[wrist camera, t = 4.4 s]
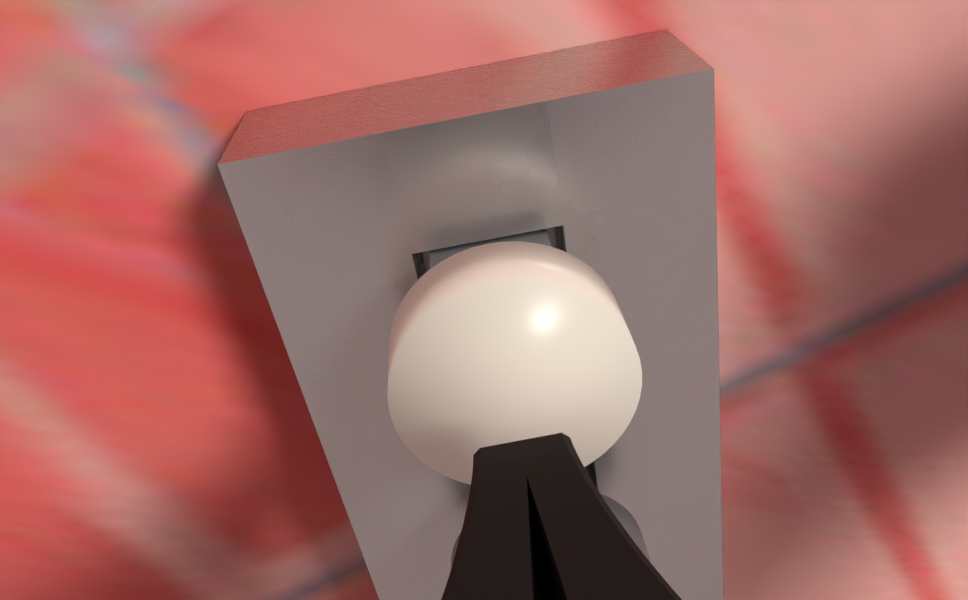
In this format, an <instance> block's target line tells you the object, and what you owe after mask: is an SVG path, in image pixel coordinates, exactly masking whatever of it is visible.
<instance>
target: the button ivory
mask: <svg viewBox="0 0 968 600" xmlns="http://www.w3.org/2000/svg"><path fill="white" fill-rule="evenodd" d="M429 256H430V270H428V271H427V272H426V273H425V274H424V275H423V276H422V277H421V278H419V279H418V280H417V281H416V283H415V284H414V285H413V286H412V287H411V288H410V290H409V291H408V292H407V294H406V295H405V297H404V298H403V300H402V302H401V303H400V305H399V307H398V310H397V312H396V314H395V316H394V320H393V324H392V327H391V333H390V342H389V366H388V391H387V392H388V407H389V412H390V416H391V420H392V422H393V425H394V427H395V430H396V432H397V433H398V435H399V437H400V439H401V440H402V442H403V443H404V444H405V446H406V447H407V448H408V449H409V450H410V452H411V453H412V454H413V455H415V456H416V457H417V458H418V459H419V460H420V461H421V462H422V463H424V464H425V465H427V466H428V467H430V468H431V469H432V470H434V471H436V472H438V473H440V474H442V475H444V476H446V477H448V478H451V479H453V480H456V481H459V482H462V483H466V484H470V485H471V480H472V472H473V455H474V454H475V453H476V452H477V451H478V449H479V448H482V447H487V446H493V445H498V444H503V443H509V442H514V441H520V440H525V439H530V438H536V437H541V436H546V435H552V434H557V433H563V434H565V435H567V436H568V437H570V438H571V441H572V444H573V446H574V448H575V450H576V452H577V454H578V457H579V459H580V460H581V462H582V464H583V466H584V467H585V466H587V465H589V464H590V463H592V462H593V461H595V460H596V459H597V458H599V457H600V456H601V455H603V454H604V453H605V452H606V451H607V450H608V449H609V448H610V447H611V446H613V444H614V443H615V442H616V441H617V440H618V439H619V438H620V436H621V435H622V434H623V432H624V431H625V429H626V428H627V426H628V425H629V423H630V422H631V420H632V418H633V415H634V413H635V411H636V409H637V406H638V402H639V399H640V394H641V388H642V368H641V362H640V357H639V355H638V352H637V349H636V346H635V344H634V341H633V339H632V336H631V334H630V332H629V329H628V327H627V325H626V322H625V320H624V318H623V315H622V313H621V310H620V308H619V306H618V303H617V301H616V299H615V297H614V295H613V293H612V291H611V290H610V288H609V286H608V285H607V284H606V282H605V281H604V280H603V279H602V277H601V276H600V275H599V274H598V273H597V272H596V271H595V270H594V269H592V268H591V267H590V266H589V265H587V264H586V263H585V262H583V261H582V260H580V259H579V258H577V257H575V256H573V255H571V254H569V253H567V252H565V251H562V250H560V249H557V248H554V247H552V246H551V243H550V240H549V237H548V234H547V231H546V229H541V230H536V231H531V232H525V233H520V234H515V235H509V236H504V237H499V238H494V239H488V240H483V241H478V242H473V243H467V244H462V245H457V246H451V247H446V248H441V249H436V250H430V251H429Z"/></svg>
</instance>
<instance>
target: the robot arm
mask: <svg viewBox="0 0 968 600" xmlns="http://www.w3.org/2000/svg"><path fill="white" fill-rule="evenodd" d="M441 600H682V599H681V598H680V597H679V596H678V595H677V593H676V592H675V591H674V590H673V589H672V588H671V587H670V585H669V584H668V583H667V582H666V581H665V579H664V578H663V577H662V576H661V575H660V573H659V572H658V571H657V570H656V569H655V567H654V566H653V565H652V564H651V563H650V561H649V560H648V559H647V558H646V556H645V555H644V554H643V553H642V551H641V550H640V549H639V547H638V546H637V545H636V544H635V542H634V541H633V539H632V538H631V537H630V535H629V534H628V533H627V531H626V530H625V529H624V527H623V526H622V524H621V523H620V522H619V520H618V519H617V518H616V516H615V515H614V514H613V512H612V511H611V509H610V508H609V506H608V505H607V503H606V502H605V500H604V499H603V497H602V496H601V494H600V493H599V491H598V489H597V488H596V486H595V485H594V483H593V481H592V480H591V478H590V476H589V475H588V473H587V471H586V470H585V468H584V466H583V464H582V462H581V460H580V459H579V457H578V454H577V452H576V450H575V448H574V446H573V444H572V441H571V438H570V437H568V436H567V435H565V434H563V433H557V434H552V435H546V436H541V437H536V438H530V439H525V440H520V441H514V442H509V443H503V444H498V445H493V446H487V447H482V448H479V449H478V451H477V452H476V453H475V454H474V455H473V472H472V480H471V487H470V493H469V499H468V504H467V508H466V513H465V518H464V523H463V527H462V531H461V534H460V538H459V542H458V546H457V549H456V553H455V557H454V561H453V564H452V568H451V571H450V575H449V578H448V581H447V584H446V587H445V590H444V593H443V596H442V599H441Z"/></svg>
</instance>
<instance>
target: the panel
mask: <svg viewBox="0 0 968 600" xmlns="http://www.w3.org/2000/svg"><path fill="white" fill-rule="evenodd" d="M217 165H218V168H219V170H220V173H221V176H222V178H223V181H224V184H225V187H226V189H227V192H228V195H229V197H230V200H231V203H232V205H233V208H234V211H235V213H236V216H237V219H238V221H239V224H240V227H241V230H242V232H243V235H244V238H245V240H246V243H247V246H248V248H249V251H250V254H251V256H252V259H253V262H254V264H255V267H256V270H257V273H258V275H259V278H260V281H261V283H262V286H263V289H264V291H265V294H266V297H267V299H268V302H269V305H270V307H271V310H272V313H273V316H274V318H275V321H276V324H277V326H278V329H279V332H280V334H281V337H282V340H283V342H284V345H285V348H286V350H287V353H288V356H289V358H290V361H291V364H292V367H293V369H294V372H295V375H296V377H297V380H298V383H299V385H300V388H301V391H302V393H303V396H304V399H305V401H306V404H307V407H308V410H309V412H310V415H311V418H312V420H313V423H314V426H315V428H316V431H317V434H318V436H319V439H320V442H321V444H322V447H323V450H324V453H325V455H326V458H327V461H328V463H329V466H330V469H331V471H332V474H333V477H334V479H335V482H336V485H337V487H338V490H339V493H340V496H341V498H342V501H343V504H344V506H345V509H346V512H347V514H348V517H349V520H350V522H351V525H352V528H353V530H354V533H355V536H356V539H357V541H358V544H359V547H360V549H361V552H362V555H363V557H364V560H365V563H366V565H367V568H368V571H369V573H370V576H371V579H372V581H373V584H374V587H375V590H376V592H377V595H378V598H379V600H441V599H442V596H443V593H444V590H445V587H446V584H447V581H448V578H449V575H450V571H451V556H452V551H453V547H454V545H455V542H456V540H457V538H458V536H459V534H460V533H461V531H462V527H463V523H464V518H465V513H466V508H467V504H468V499H469V493H470V487H471V485H470V484H466V483H462V482H459V481H456V480H453V479H451V478H448V477H446V476H444V475H442V474H440V473H438V472H436V471H434V470H432V469H431V468H430V467H428V466H427V465H425V464H424V463H422V462H421V461H420V460H419V459H418V458H417V457H416V456H415V455H413V454H412V453H411V452H410V450H409V449H408V448H407V447H406V446H405V444H404V443H403V442H402V440H401V439H400V437H399V435H398V433H397V432H396V430H395V427H394V425H393V422H392V420H391V416H390V412H389V407H388V392H387V391H388V366H389V342H390V333H391V327H392V324H393V320H394V316H395V314H396V312H397V310H398V307H399V305H400V303H401V302H402V300H403V298H404V297H405V295H406V294H407V292H408V291H409V290H410V288H411V287H412V286H413V285H414V284H415V283H416V281H417V280H418V279H419V278H421V277H422V276H423V275H424V274H425V273H426V272H427V271H428V270H430V256H429V251H430V250H436V249H441V248H446V247H451V246H457V245H462V244H467V243H473V242H478V241H483V240H488V239H494V238H499V237H504V236H509V235H515V234H520V233H525V232H531V231H536V230H541V229H546V231H547V234H548V237H549V240H550V243H551V246H552V247H554V248H557V249H560V250H562V251H565V252H567V253H569V254H571V255H573V256H575V257H577V258H579V259H580V260H582V261H583V262H585V263H586V264H587V265H589V266H590V267H591V268H592V269H594V270H595V271H596V272H597V273H598V274H599V275H600V276H601V277H602V279H603V280H604V281H605V282H606V284H607V285H608V286H609V288H610V290H611V291H612V293H613V295H614V297H615V299H616V301H617V303H618V306H619V308H620V310H621V313H622V315H623V318H624V320H625V322H626V325H627V327H628V329H629V332H630V334H631V336H632V339H633V341H634V344H635V346H636V349H637V352H638V355H639V357H640V362H641V368H642V388H641V394H640V399H639V402H638V406H637V409H636V411H635V413H634V415H633V418H632V420H631V422H630V423H629V425H628V426H627V428H626V429H625V431H624V432H623V434H622V435H621V436H620V438H619V439H618V440H617V441H616V442H615V443H614V444H613V446H611V447H610V448H609V449H608V450H607V451H606V452H605V453H604V454H603V455H601V456H600V457H599V458H597V459H596V460H595V461H593V462H592V463H590V464H589V465H587V466H585V467H584V468H585V470H586V471H587V473H588V475H589V476H590V478H591V480H592V481H593V483H594V485H595V486H596V488H597V489H598V491H599V493H600V494H602V495H605V496H607V497H609V498H611V499H613V500H615V501H616V502H618V503H619V504H621V505H622V506H623V507H625V508H626V509H627V510H628V511H629V512H630V513H631V515H632V516H633V517H634V518H635V520H636V522H637V523H638V525H639V528H640V530H641V533H642V536H643V539H644V542H645V545H646V548H647V552H648V555H649V558H650V561H651V564H652V565H653V566H654V567H655V569H656V570H657V571H658V572H659V573H660V575H661V576H662V577H663V578H664V579H665V581H666V582H667V583H668V584H669V585H670V587H671V588H672V589H673V590H674V591H675V592H676V593H677V595H678V596H679V597H680V598H681V599H682V600H723V552H722V496H721V440H720V384H719V329H718V273H717V217H716V161H715V105H714V68H713V67H711V66H710V65H709V64H708V63H707V62H705V61H704V60H703V59H702V58H701V57H699V56H698V55H697V54H696V53H695V52H693V51H692V50H691V49H690V48H689V47H688V46H686V45H685V44H684V43H683V42H682V41H680V40H679V39H678V38H677V37H676V36H674V35H673V34H672V33H671V32H670V31H668V30H662V31H657V32H652V33H647V34H642V35H637V36H632V37H626V38H621V39H616V40H611V41H606V42H601V43H596V44H590V45H585V46H580V47H575V48H570V49H565V50H560V51H554V52H549V53H544V54H539V55H534V56H529V57H524V58H518V59H513V60H508V61H503V62H498V63H493V64H488V65H482V66H477V67H472V68H467V69H462V70H457V71H452V72H447V73H441V74H436V75H431V76H426V77H421V78H416V79H411V80H405V81H400V82H395V83H390V84H385V85H380V86H375V87H369V88H364V89H359V90H354V91H349V92H344V93H339V94H333V95H328V96H323V97H318V98H313V99H308V100H303V101H297V102H292V103H287V104H282V105H277V106H272V107H267V108H261V109H256V110H251V111H247V112H246V113H245V115H244V117H243V119H242V121H241V122H240V124H239V126H238V128H237V130H236V132H235V133H234V135H233V137H232V139H231V141H230V142H229V144H228V146H227V148H226V150H225V152H224V153H223V155H222V157H221V159H220V161H219V162H218V164H217Z"/></svg>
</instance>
